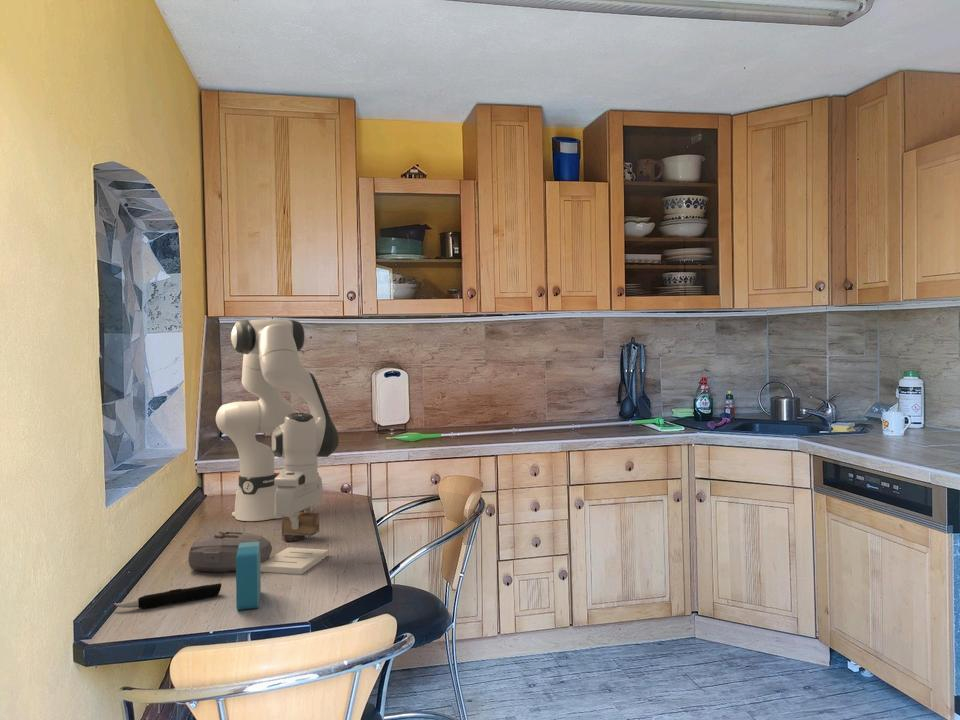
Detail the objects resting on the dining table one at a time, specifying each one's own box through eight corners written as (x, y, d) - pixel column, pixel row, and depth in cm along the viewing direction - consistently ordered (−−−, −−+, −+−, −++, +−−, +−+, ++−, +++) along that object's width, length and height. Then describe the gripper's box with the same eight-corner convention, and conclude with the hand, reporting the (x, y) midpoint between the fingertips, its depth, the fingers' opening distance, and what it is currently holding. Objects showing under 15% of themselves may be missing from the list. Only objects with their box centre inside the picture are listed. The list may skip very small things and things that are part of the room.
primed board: (288, 552, 186) (287, 547, 186) (328, 555, 184) (328, 549, 184) (257, 571, 171) (257, 565, 171) (301, 574, 168) (301, 568, 168)
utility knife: (114, 616, 143) (114, 602, 143) (114, 610, 146) (113, 596, 146) (222, 597, 153) (222, 583, 153) (219, 591, 157) (219, 578, 157)
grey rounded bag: (182, 574, 168) (262, 574, 168) (181, 541, 168) (262, 540, 168) (206, 556, 183) (280, 555, 184) (205, 525, 183) (279, 525, 183)
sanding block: (291, 530, 184) (291, 511, 184) (319, 531, 182) (319, 513, 182) (283, 534, 179) (283, 515, 179) (311, 535, 178) (311, 516, 178)
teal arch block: (240, 593, 155) (239, 541, 155) (260, 591, 157) (260, 539, 156) (236, 612, 144) (235, 556, 144) (258, 610, 145) (258, 554, 145)
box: (286, 542, 197) (285, 501, 196) (281, 539, 200) (281, 498, 200) (306, 539, 200) (306, 498, 200) (301, 535, 204) (300, 496, 203)
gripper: (307, 467, 192) (308, 516, 192) (270, 480, 172) (271, 535, 172) (328, 468, 190) (328, 517, 190) (293, 481, 170) (294, 536, 170)
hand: (301, 525), depth 181 cm, fingers closed on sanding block, 4 cm apart
